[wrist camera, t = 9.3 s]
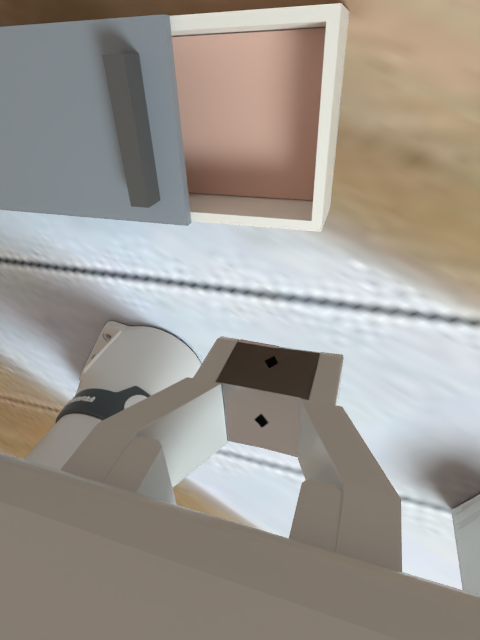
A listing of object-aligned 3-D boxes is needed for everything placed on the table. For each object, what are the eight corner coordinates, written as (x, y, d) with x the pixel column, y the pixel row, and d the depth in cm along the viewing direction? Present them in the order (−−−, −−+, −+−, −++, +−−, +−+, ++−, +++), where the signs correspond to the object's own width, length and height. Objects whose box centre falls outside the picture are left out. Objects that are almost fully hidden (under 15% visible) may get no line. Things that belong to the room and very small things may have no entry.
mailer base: (349, 11, 27) (341, 2, 23) (330, 207, 35) (321, 231, 30) (106, 28, 33) (58, 24, 28) (136, 195, 41) (103, 213, 36)
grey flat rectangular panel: (169, 15, 25) (148, 11, 23) (191, 222, 33) (177, 234, 31) (-59, 32, 31) (-93, 30, 28) (7, 207, 39) (-17, 216, 36)
